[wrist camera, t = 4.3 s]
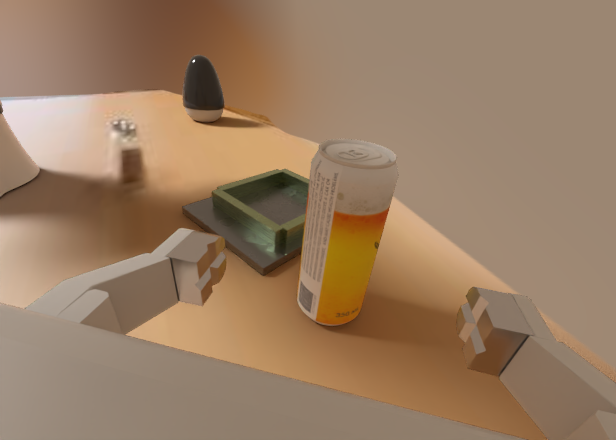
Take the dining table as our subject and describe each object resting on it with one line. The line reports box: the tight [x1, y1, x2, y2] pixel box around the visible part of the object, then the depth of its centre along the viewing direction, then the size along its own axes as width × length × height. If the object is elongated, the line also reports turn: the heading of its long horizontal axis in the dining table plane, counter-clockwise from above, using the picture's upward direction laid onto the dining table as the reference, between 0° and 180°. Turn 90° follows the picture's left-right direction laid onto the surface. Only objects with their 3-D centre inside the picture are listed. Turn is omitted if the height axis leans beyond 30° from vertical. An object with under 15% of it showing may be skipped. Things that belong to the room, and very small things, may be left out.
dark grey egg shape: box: [183, 55, 225, 122], centre depth 75 cm, size 10×10×15 cm
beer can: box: [297, 139, 398, 326], centre depth 24 cm, size 6×6×15 cm
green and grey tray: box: [182, 169, 309, 275], centre depth 40 cm, size 20×16×3 cm
